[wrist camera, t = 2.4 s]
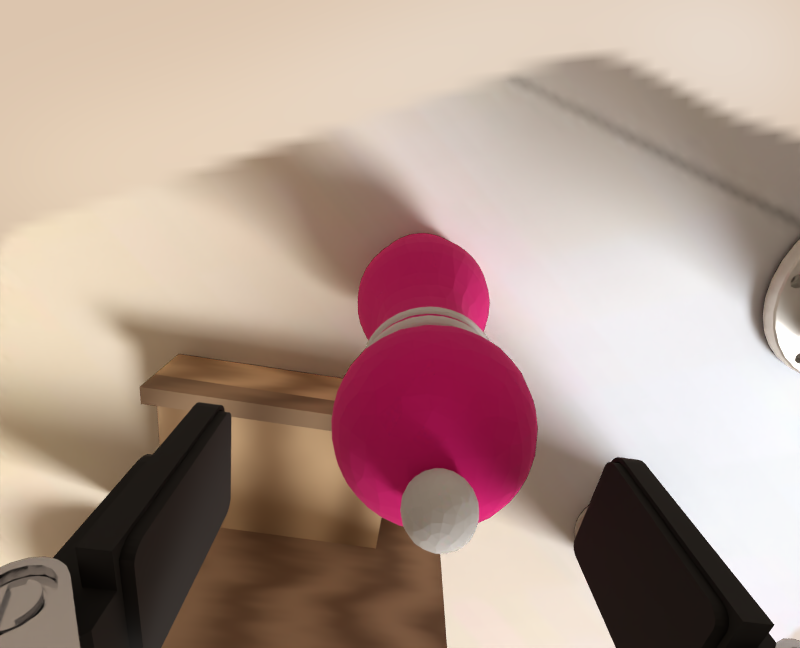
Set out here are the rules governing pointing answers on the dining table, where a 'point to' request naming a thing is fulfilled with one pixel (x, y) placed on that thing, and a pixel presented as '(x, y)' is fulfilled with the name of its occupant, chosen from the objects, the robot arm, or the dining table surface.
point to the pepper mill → (431, 398)
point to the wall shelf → (293, 526)
